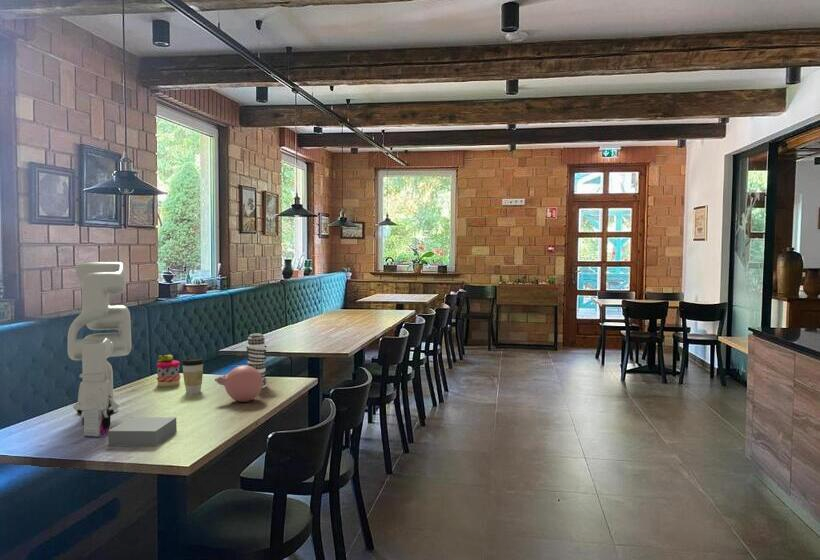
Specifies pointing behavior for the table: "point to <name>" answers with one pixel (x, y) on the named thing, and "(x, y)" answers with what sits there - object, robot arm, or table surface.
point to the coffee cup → (193, 374)
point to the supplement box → (94, 423)
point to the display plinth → (142, 431)
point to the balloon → (242, 383)
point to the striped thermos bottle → (257, 354)
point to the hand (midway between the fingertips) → (96, 427)
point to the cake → (168, 371)
